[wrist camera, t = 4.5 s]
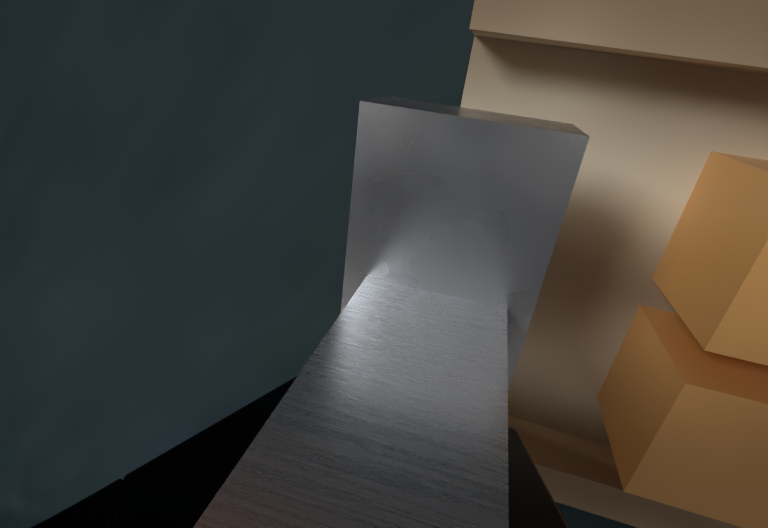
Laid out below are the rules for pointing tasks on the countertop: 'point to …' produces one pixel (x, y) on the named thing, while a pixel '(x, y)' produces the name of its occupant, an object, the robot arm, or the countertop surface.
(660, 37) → the slot block
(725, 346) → the tan cardboard cube
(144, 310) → the countertop surface
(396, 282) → the scraper
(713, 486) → the matte ochre cube
